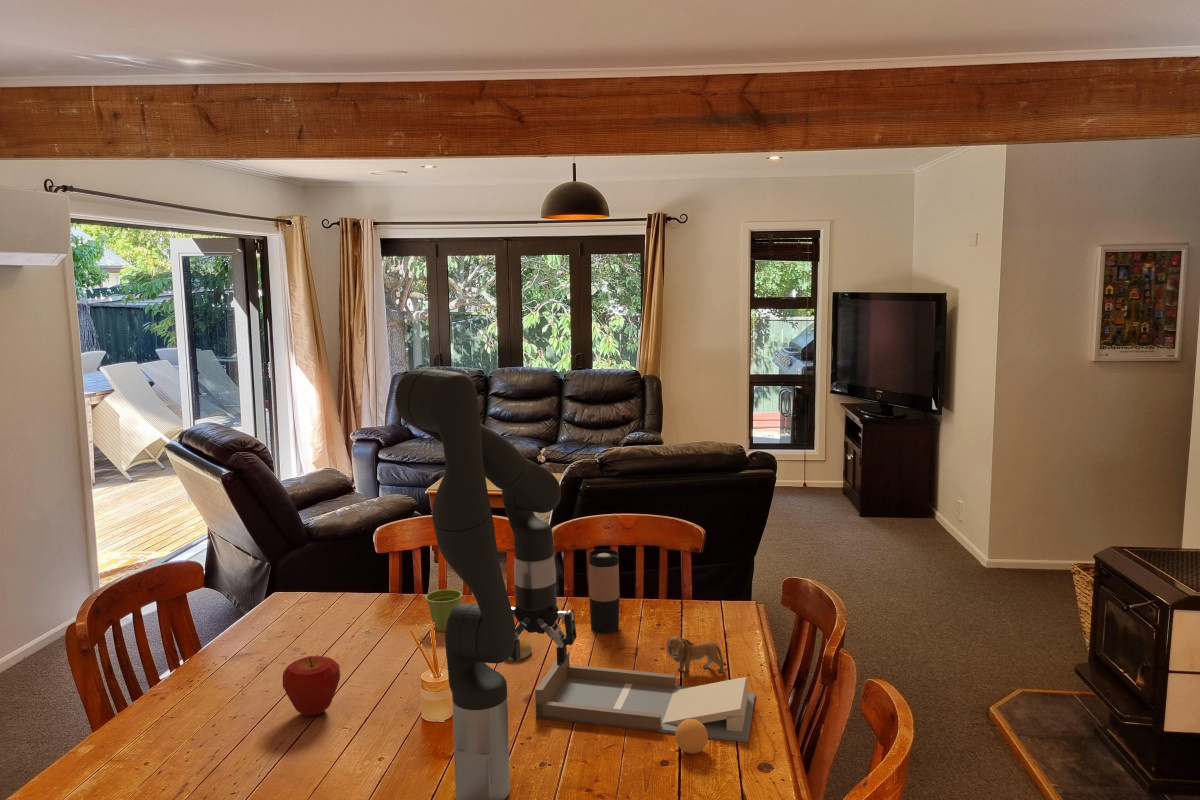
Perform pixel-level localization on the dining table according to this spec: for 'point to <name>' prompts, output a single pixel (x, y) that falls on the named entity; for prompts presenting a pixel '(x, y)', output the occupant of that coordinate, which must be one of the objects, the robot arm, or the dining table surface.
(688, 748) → the rubber ball
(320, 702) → the apple
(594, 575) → the travel mug
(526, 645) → the bread roll
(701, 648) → the lion figurine
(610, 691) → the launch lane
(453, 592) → the plant pot
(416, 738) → the dining table surface
